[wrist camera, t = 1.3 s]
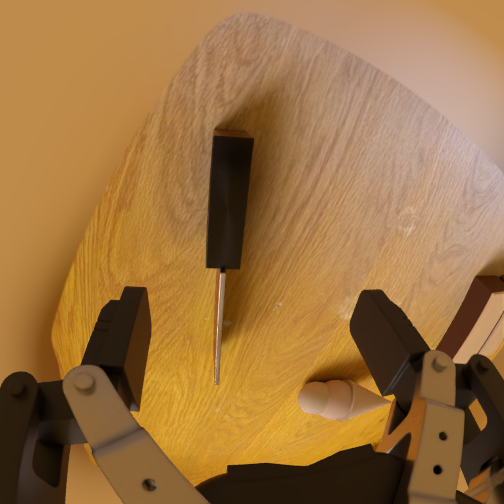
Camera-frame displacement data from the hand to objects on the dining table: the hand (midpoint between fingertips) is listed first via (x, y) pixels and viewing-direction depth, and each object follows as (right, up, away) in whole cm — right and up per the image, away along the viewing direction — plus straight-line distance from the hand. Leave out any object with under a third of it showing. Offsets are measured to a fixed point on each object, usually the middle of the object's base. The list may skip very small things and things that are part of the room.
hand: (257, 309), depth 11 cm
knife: (-3, +1, +15) cm, 15 cm away
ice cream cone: (+13, -16, +27) cm, 34 cm away
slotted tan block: (+37, -8, +25) cm, 45 cm away
